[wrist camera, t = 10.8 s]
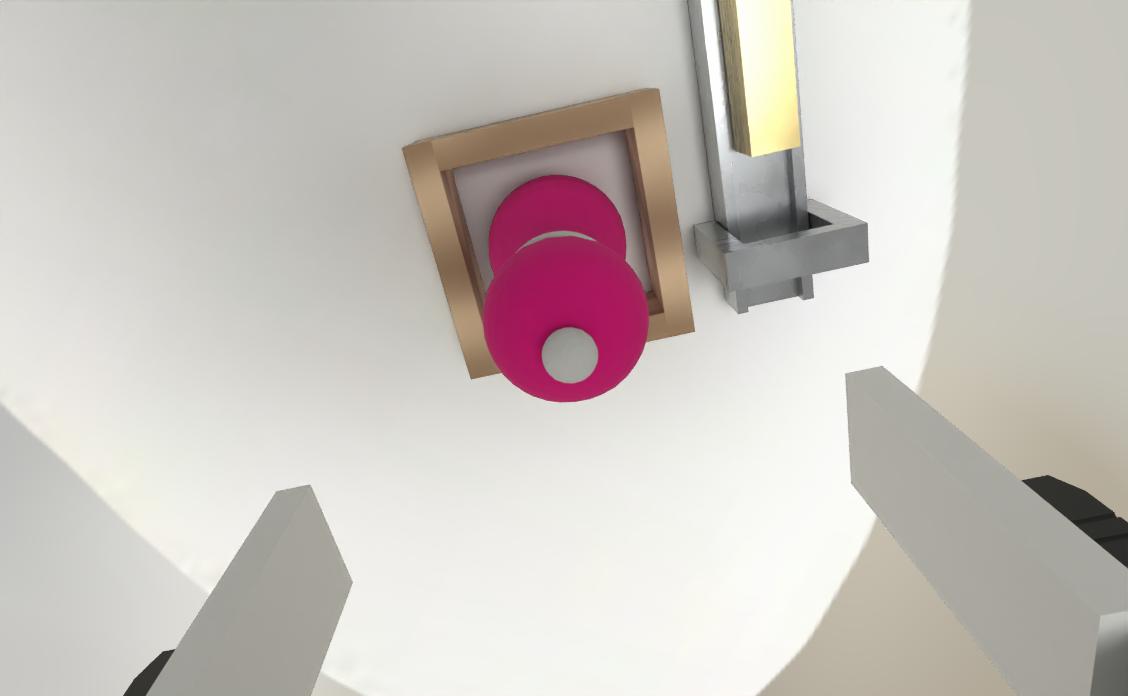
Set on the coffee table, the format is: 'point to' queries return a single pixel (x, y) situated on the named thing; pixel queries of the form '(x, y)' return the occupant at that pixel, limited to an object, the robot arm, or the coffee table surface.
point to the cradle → (539, 131)
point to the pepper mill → (562, 292)
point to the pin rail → (761, 197)
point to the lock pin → (760, 75)
